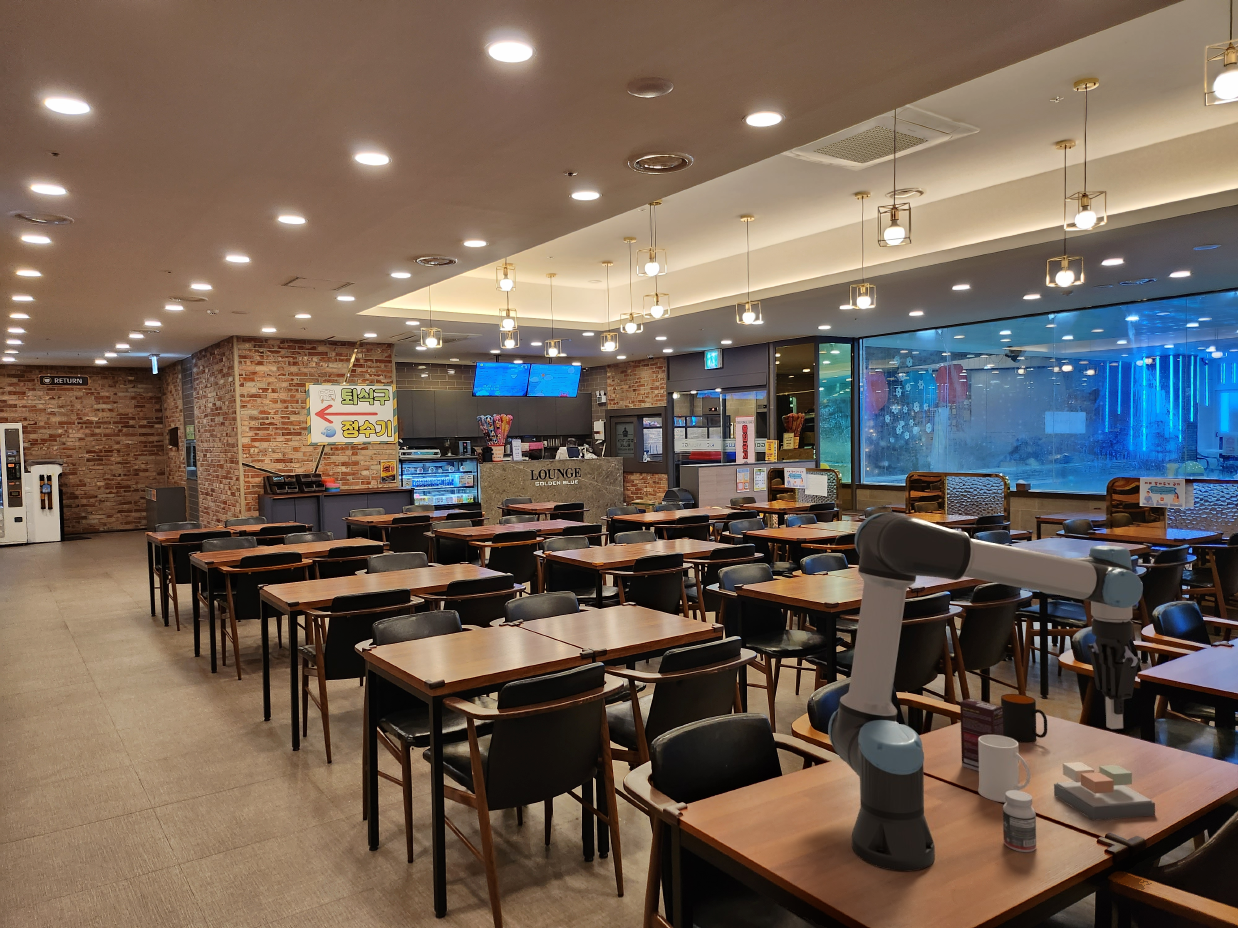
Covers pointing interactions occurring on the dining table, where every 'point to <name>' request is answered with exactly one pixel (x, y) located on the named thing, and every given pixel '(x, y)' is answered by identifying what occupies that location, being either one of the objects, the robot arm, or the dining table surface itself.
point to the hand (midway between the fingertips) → (1114, 727)
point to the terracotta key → (1097, 782)
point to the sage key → (1117, 774)
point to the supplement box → (978, 728)
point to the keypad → (1104, 801)
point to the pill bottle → (1019, 821)
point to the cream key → (1076, 770)
